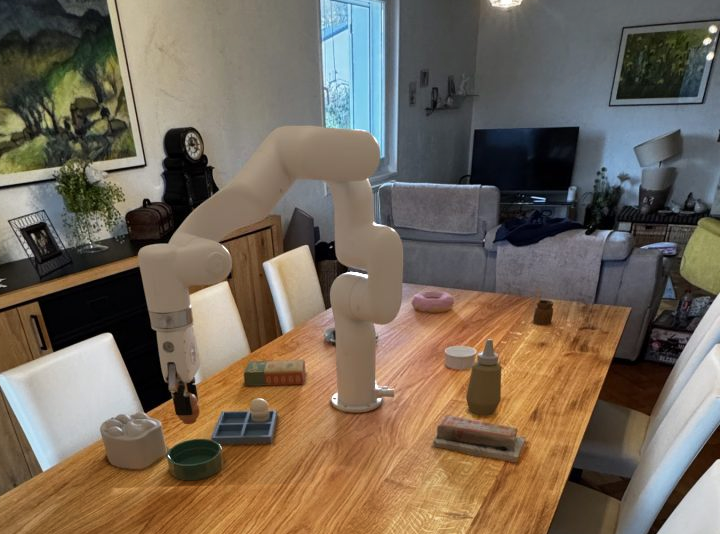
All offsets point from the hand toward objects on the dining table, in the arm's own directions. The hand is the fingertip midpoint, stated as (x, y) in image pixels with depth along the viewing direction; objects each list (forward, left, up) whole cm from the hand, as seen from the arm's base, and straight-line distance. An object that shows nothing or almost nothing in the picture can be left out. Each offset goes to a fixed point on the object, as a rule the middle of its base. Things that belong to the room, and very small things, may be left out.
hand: (187, 408), depth 113 cm
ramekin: (-64, -53, -14) cm, 84 cm away
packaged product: (-60, -6, -14) cm, 62 cm away
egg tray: (-8, -16, -14) cm, 22 cm away
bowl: (0, 0, -14) cm, 14 cm away
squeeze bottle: (-64, -23, -14) cm, 69 cm away
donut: (-64, -109, -14) cm, 127 cm away
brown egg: (0, 0, -3) cm, 3 cm away
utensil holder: (-98, -89, -14) cm, 133 cm away
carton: (-12, -46, -14) cm, 49 cm away
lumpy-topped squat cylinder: (+15, -6, -14) cm, 21 cm away
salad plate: (-33, -78, -14) cm, 85 cm away
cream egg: (-11, -19, -13) cm, 25 cm away
